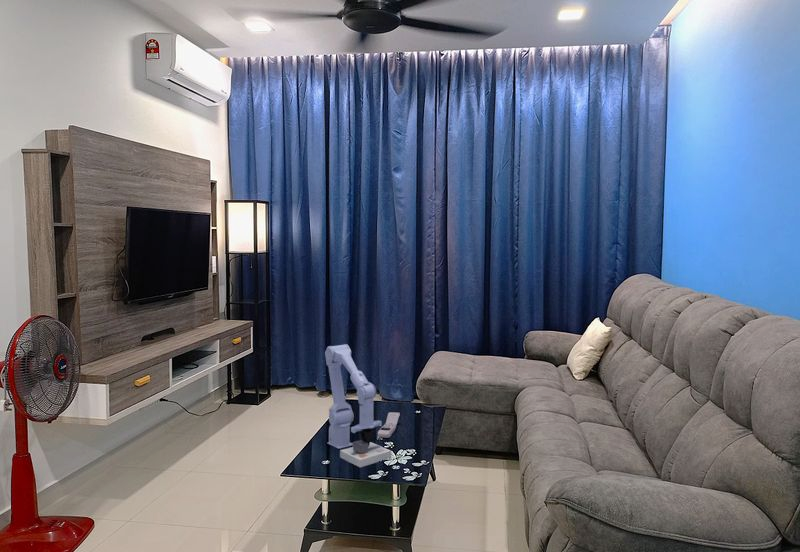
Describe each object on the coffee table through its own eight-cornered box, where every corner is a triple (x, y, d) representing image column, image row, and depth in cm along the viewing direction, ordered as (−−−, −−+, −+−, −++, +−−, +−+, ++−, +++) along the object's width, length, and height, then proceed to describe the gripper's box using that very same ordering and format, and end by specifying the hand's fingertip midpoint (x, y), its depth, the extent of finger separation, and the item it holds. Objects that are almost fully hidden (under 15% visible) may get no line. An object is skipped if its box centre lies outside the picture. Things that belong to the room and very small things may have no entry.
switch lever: (360, 448, 241) (360, 439, 241) (368, 451, 237) (368, 443, 237) (353, 450, 239) (353, 442, 238) (360, 453, 235) (360, 445, 235)
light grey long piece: (400, 412, 285) (388, 427, 261) (400, 424, 285) (388, 440, 261) (388, 411, 286) (375, 427, 262) (388, 423, 287) (375, 440, 262)
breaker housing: (370, 448, 250) (370, 441, 250) (391, 457, 240) (391, 450, 240) (339, 457, 240) (339, 449, 240) (360, 467, 229) (360, 459, 229)
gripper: (358, 419, 231) (358, 452, 232) (386, 412, 241) (386, 444, 242) (347, 415, 237) (348, 448, 238) (375, 408, 246) (375, 440, 247)
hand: (366, 446), depth 240 cm, fingers closed
